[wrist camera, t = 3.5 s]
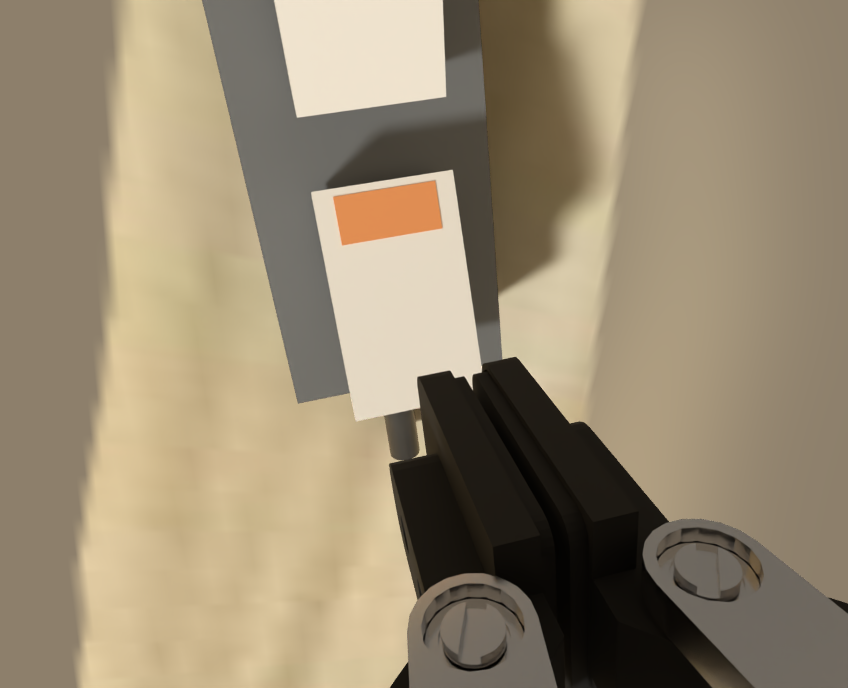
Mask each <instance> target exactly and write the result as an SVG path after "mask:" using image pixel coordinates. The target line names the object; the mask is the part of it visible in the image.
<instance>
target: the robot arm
mask: <svg viewBox="0 0 848 688" xmlns="http://www.w3.org/2000/svg"><path fill="white" fill-rule="evenodd" d="M472 386H473V390H472V388H471V386H470V385H469V383H468V381H467V379H466V378H465V377H464V376H462V377H457V378H454V376H453V374H452V372H451V371H450V370H448V371H444V372H439V373H434V374H429V375H424V376H419V377H417V387H418V395H419V402H420V409H421V417H422V424H423V431H424V438H425V446H426V453H427V455H426V456H422V457H417V458H413V459H408V460H404V461H399V462H394V463H390V464H389V467H390V475H391V481H392V487H393V493H394V498H395V504H396V510H397V515H398V520H399V525H400V530H401V534H402V539H403V543H404V548H405V552H406V556H407V560H408V564H409V568H410V572H411V576H412V580H413V584H414V588H415V591H416V595H417V599H418V600H417V602H416V604H415V606H414V608H413V610H412V612H411V614H410V616H409V623H408V630H407V640H408V663H407V664H406V665H405V667H404V668H403V670H402V671H401V673H400V674H399V675H398V677H397V678H396V680H395V681H394V682H393V684H392V685H391V687H390V688H848V604H847V603H844V602H841V601H838V600H835V599H832V598H828V597H826V596H825V595H824V594H822V593H821V592H820V591H819V590H818V589H816V588H815V587H814V586H812V585H811V584H810V583H809V582H808V581H806V580H805V579H804V578H803V577H801V576H800V575H799V574H798V573H796V572H795V571H794V570H793V569H791V568H790V567H789V566H788V565H786V564H785V563H784V562H783V561H781V560H780V559H779V558H777V557H776V556H775V555H774V554H773V553H771V552H770V551H769V550H768V549H766V548H765V547H764V546H763V545H761V544H760V543H759V542H758V541H756V540H755V539H753V538H751V537H750V536H748V535H747V534H745V533H744V532H742V531H740V530H738V529H736V528H733V527H731V526H728V525H725V524H723V523H720V522H714V521H709V520H704V519H681V520H677V521H672V522H669V521H668V520H667V519H666V518H665V517H664V515H663V514H662V513H661V512H660V511H659V509H658V508H657V507H656V506H655V505H654V504H653V502H652V501H651V500H650V499H649V497H648V496H647V495H646V494H645V493H644V491H643V490H642V489H641V488H640V487H639V486H638V484H637V483H636V482H635V481H634V480H633V478H632V477H631V476H630V475H629V474H628V472H627V471H626V470H625V469H624V468H623V466H622V465H621V464H620V463H619V462H618V461H617V459H616V458H615V457H614V456H613V455H612V454H611V452H610V451H609V450H608V449H607V447H606V446H605V445H604V444H603V443H602V441H601V440H600V439H599V438H598V437H597V435H596V434H595V433H594V432H593V431H592V430H591V428H590V427H589V426H588V425H586V424H585V423H584V422H575V423H571V424H570V423H569V422H568V421H567V420H566V418H565V417H564V416H563V415H562V413H561V412H560V411H559V410H558V408H557V407H556V406H555V405H554V403H553V402H552V401H551V399H550V398H549V397H548V396H547V394H546V393H545V392H544V391H543V389H542V388H541V387H540V386H539V384H538V383H537V382H536V381H535V379H534V378H533V377H532V376H531V374H530V373H529V372H528V370H527V369H526V368H525V367H524V365H523V364H522V363H521V362H520V360H519V359H518V358H517V357H512V358H508V359H503V360H498V361H493V362H488V363H483V365H482V372H481V373H477V374H473V376H472Z"/></svg>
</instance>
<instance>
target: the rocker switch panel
mask: <svg viewBox="0 0 848 688" xmlns="http://www.w3.org/2000/svg"><path fill="white" fill-rule="evenodd" d="M202 2H203V6H204V10H205V14H206V18H207V23H208V27H209V31H210V35H211V40H212V44H213V48H214V52H215V56H216V61H217V65H218V69H219V73H220V77H221V82H222V86H223V90H224V94H225V98H226V103H227V107H228V111H229V115H230V119H231V124H232V128H233V132H234V136H235V141H236V145H237V149H238V153H239V157H240V162H241V166H242V170H243V174H244V178H245V183H246V187H247V191H248V195H249V199H250V204H251V208H252V212H253V216H254V220H255V225H256V229H257V233H258V237H259V242H260V246H261V250H262V254H263V258H264V263H265V267H266V271H267V275H268V279H269V284H270V288H271V292H272V296H273V300H274V305H275V309H276V313H277V317H278V321H279V326H280V330H281V334H282V338H283V343H284V347H285V351H286V355H287V359H288V364H289V368H290V372H291V376H292V380H293V385H294V389H295V393H296V397H297V401H298V403H303V402H308V401H313V400H318V399H323V398H327V397H332V396H337V395H342V394H347V393H350V392H349V386H348V381H347V376H346V371H345V366H344V361H343V356H342V350H341V345H340V340H339V335H338V330H337V325H336V320H335V314H334V309H333V304H332V299H331V294H330V289H329V284H328V279H327V273H326V268H325V263H324V258H323V253H322V248H321V243H320V237H319V232H318V227H317V222H316V217H315V212H314V207H313V201H312V196H311V192H314V191H321V190H327V189H333V188H340V187H346V186H352V185H359V184H365V183H372V182H378V181H384V180H391V179H397V178H403V177H410V176H416V175H422V174H429V173H435V172H442V171H448V170H453V175H454V181H455V188H456V195H457V202H458V209H459V216H460V222H461V229H462V236H463V243H464V250H465V257H466V263H467V270H468V277H469V284H470V291H471V298H472V304H473V311H474V318H475V325H476V332H477V339H478V345H479V352H480V359H481V366H482V365H483V363H488V362H493V361H498V360H502V349H501V334H500V319H499V303H498V288H497V273H496V258H495V243H494V227H493V212H492V197H491V182H490V167H489V151H488V136H487V121H486V106H485V91H484V76H483V60H482V45H481V30H480V15H479V0H443V21H444V49H445V76H446V97H442V98H434V99H427V100H420V101H413V102H406V103H399V104H392V105H384V106H377V107H370V108H363V109H356V110H349V111H342V112H335V113H327V114H320V115H313V116H306V117H299V118H297V116H296V111H295V106H294V101H293V97H292V92H291V87H290V82H289V76H288V71H287V66H286V61H285V56H284V50H283V45H282V40H281V35H280V30H279V24H278V19H277V14H276V9H275V3H274V0H202ZM384 417H385V423H386V429H387V435H388V441H389V447H390V452H391V456H392V457H393V458H394V459H397V460H408V459H412V458H414V457H415V456H416V455H417V454H418V453H419V442H418V435H417V428H416V421H415V414H414V409H413V410H408V411H403V412H399V413H394V414H389V415H384Z"/></svg>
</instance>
